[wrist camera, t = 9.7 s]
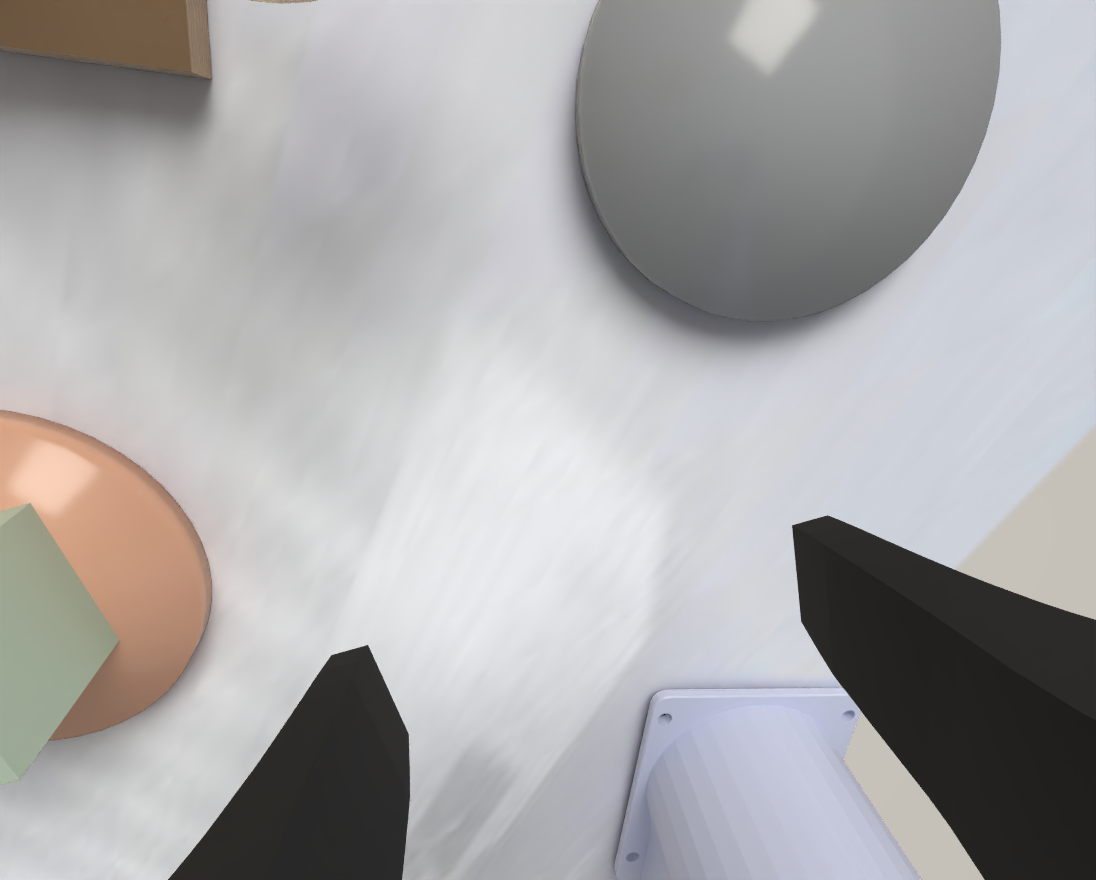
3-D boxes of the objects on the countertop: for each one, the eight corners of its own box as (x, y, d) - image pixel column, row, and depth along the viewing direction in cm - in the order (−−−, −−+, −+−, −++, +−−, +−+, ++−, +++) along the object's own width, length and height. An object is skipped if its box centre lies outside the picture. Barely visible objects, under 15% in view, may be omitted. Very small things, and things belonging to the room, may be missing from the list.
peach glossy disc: (223, 712, 21) (213, 737, 20) (-140, 718, 19) (-170, 746, 18) (195, 419, 17) (181, 433, 16) (-260, 395, 15) (-305, 409, 14)
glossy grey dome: (895, 327, 19) (918, 336, 18) (552, 296, 17) (557, 304, 16) (1031, -103, 15) (1070, -121, 14) (608, -197, 13) (619, -224, 12)
